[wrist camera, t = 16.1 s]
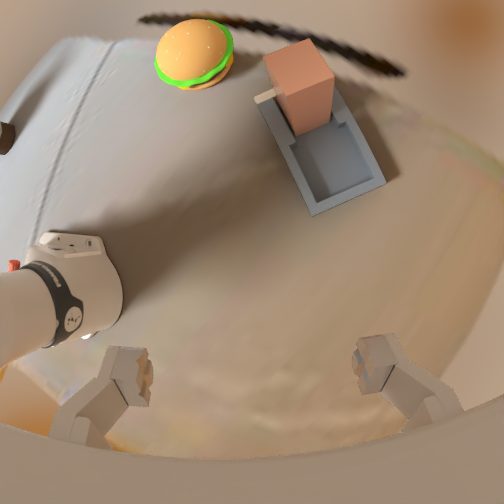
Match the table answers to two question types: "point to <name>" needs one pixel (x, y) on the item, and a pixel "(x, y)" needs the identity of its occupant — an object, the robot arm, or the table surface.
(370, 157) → the slot board
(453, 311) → the table surface
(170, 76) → the hamburger
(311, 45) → the post
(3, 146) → the beer bottle
